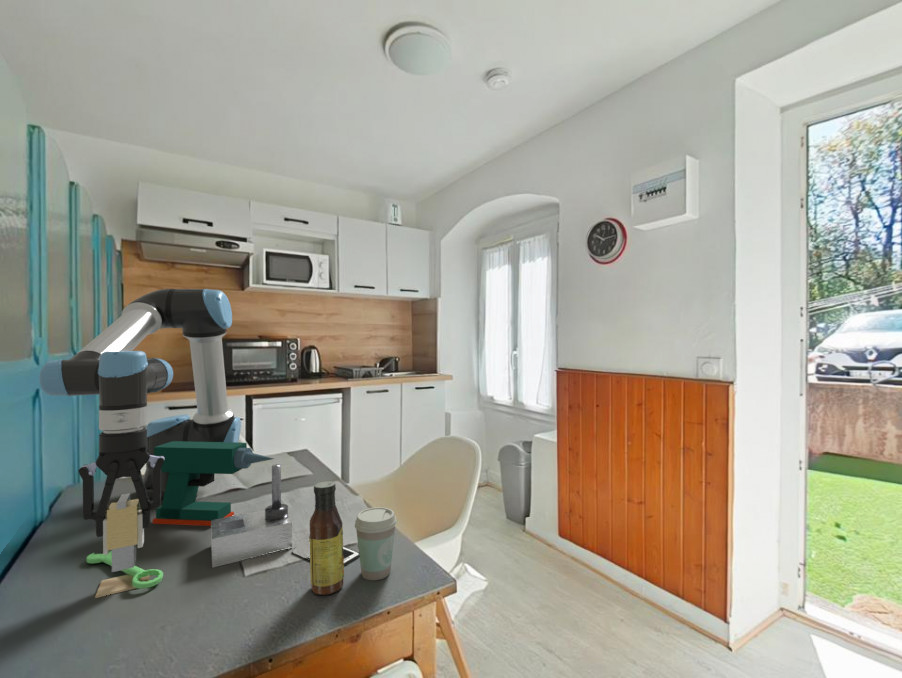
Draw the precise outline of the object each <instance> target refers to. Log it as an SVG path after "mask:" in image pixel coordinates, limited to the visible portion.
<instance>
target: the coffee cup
mask: <svg viewBox="0 0 902 678" xmlns="http://www.w3.org/2000/svg"><path fill="white" fill-rule="evenodd" d="M397 524H398V520H397V517H396V515H395V512H394V510H392V509H390V508H388V507H381V506H380V507H379V506H377V507H375V506H374V507H369V508H366V509H363V510H361V511H359V512H358V513H357V516H356V519H355V521H354V528H355V530H356V538H357V546H358V547H357V548H358V552H359V556H360V557H359V562H360V563H359V564H360V571H361V576H362V577H363V579H365V580H367V581H380V580H383V579H385V578H387V577H389V575H391V574H390V573H391V571H392V560H393V551H394V542H395V530H396V526H397Z"/></svg>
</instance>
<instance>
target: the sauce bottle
mask: <svg viewBox="0 0 902 678" xmlns="http://www.w3.org/2000/svg"><path fill="white" fill-rule="evenodd" d="M336 490H337V489H336V483H335V482H334V481H330V480H329V481H320V482H317V483H316V484H314V485H313V493H314V503H315V505H314V511H313V513H312V515H311V517H310V520H309V537H308V538H309V543H310V561H309V569H310V570H309V571H310V573H309V574H310V575H309V576H310V584H311V590H312V592H313V593H314V594H316V595H320V596H327V595H331V594H335V593H336V592H339V590H341V589H342V587H343V586H344V578H345V566H344V557H343V546H344V536H343V535H344V533H343V532H344V531H343V528H344V527H343V522H342V521H343V520H342V519H341V516H340V513H339V509H338V508H337V505H336Z"/></svg>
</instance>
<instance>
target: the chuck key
mask: <svg viewBox="0 0 902 678" xmlns="http://www.w3.org/2000/svg"><path fill="white" fill-rule="evenodd" d="M131 497H132V496H131V493H130V492H128V493H123V494H121V495H120V497H119V499H118V500H117V502H111V503H109V505H108V508H107V511H106V516H107V550H110V551H112V566H111V573H114V572H119V571H120V572H121V570H124V569H129V568H133V567H134V566H136V562H137V545H138V513H139V510H141V506H140V503H139V500H138V498H135V499H131Z"/></svg>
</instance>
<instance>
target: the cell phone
mask: <svg viewBox="0 0 902 678" xmlns="http://www.w3.org/2000/svg"><path fill="white" fill-rule="evenodd" d="M295 548H296V547H294V548H293V549H295ZM293 549H292V550H293ZM293 551H294V550H293ZM343 557H344V567H345V566H347V565H349V564H351V563H353V562H354V561H356V560H358V559H360V556H359V551H357V550H353V549H351V548H349V547H346V546H344V545H343ZM308 559H309V560H310V557H308ZM309 560H308V561H309Z"/></svg>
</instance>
